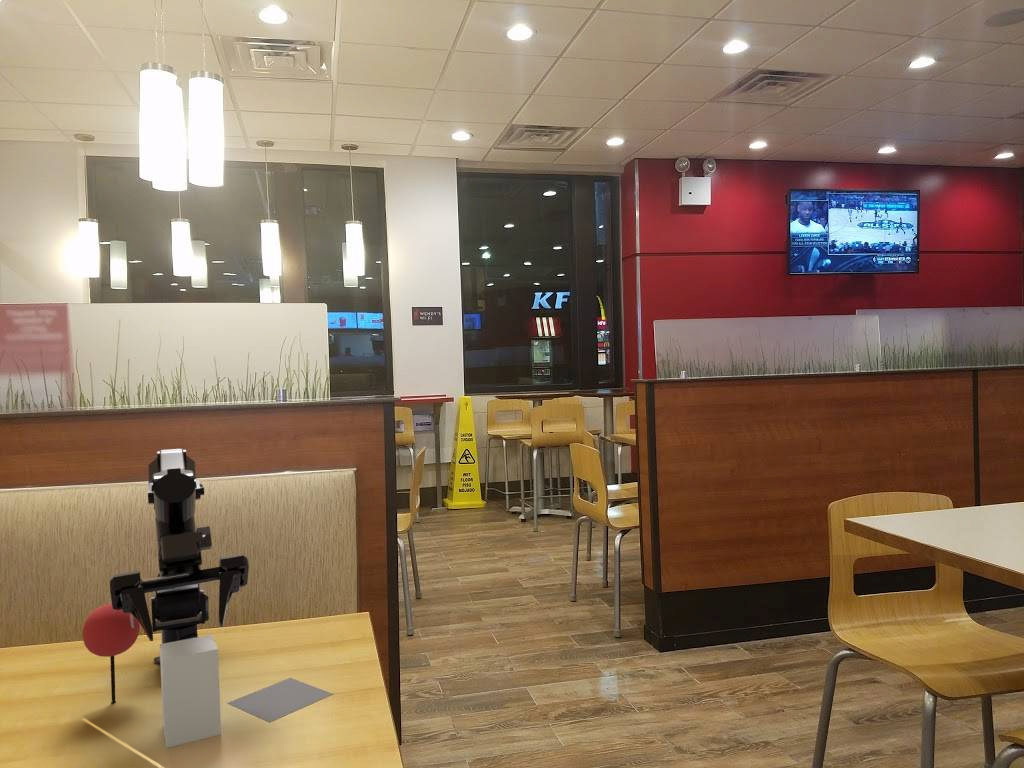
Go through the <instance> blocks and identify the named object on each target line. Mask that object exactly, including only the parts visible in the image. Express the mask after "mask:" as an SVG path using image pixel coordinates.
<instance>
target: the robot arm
mask: <svg viewBox="0 0 1024 768" xmlns="http://www.w3.org/2000/svg"><path fill="white" fill-rule="evenodd" d="M196 469H197V468H196V461H195V460H193V459H192V458H191V457H189V456H187V450H186V449H184V448H172V449H171V448H169V449H161V450H159V451H156V458H155V459H153V460H152V461H151V462H150V463H149V464H148V465H147V474H148V475H147V477H148V479H147V480H148V483H147V501H148V502H147V503H148V505H150V506H151V505H153V510H154V516H155V518H154V522H155V523H154V524H155V532H156V533H155V534H156V535H155V536H156V544H157V556H158V557H157V558H158V568H159V570H158V571H159V573H158V574H157V576H155V577H150V578H143V579H141V570H137V571H130V572H123V573H120V574H119V573H118V574H114V575H113V576H112V577H111V578H110V579H109V592H110V600H111V604H112V607H113V609H115V610H120V609H123V612H124V613H132V614H133V616H134V617H135V618H136V619H137V620H138V621H139V623H140V627H142V629H143V631H144V633H145V635H146V636H147V638H148V641H150V642H153V641H154V633H155V632H157V631H158V632H161V634H160V635H161V644H164V643H169V642H175V641H180V640H185V639H191V638H196V637H199V633H198V625H203V624H206V622H207V621H209V619H210V616H209V596H208V594H206V592H205V590H204V588H200V584H205V583H211V582H215V581H218V582H219V586H218V587H219V589H218V590H219V591H218V592H219V593H218V624H219V627H220V628H222V627H224V622H225V619H226V618H225V617H226V612H227V608H228V605H229V603H230V601H231V598H232V595H234V594H235V593H238V592H239V591H240V589H241V588H244V587H245V586H247V585H248V580H249V568H250V566H249V561H248V557H247V556H246V555H244V554H243V553H239V554H233V555H227V556H220V557H219V559H218V560H219V563H218V566H216V567H210V568H209V567H208V568H204V569H202V564H203V558H202V551H207V550H211V548H212V546H213V545H212V544H213V543H212V535H211V534H212V533H211V527H210V525H208V526H201V527H197V525H196V517H195V513H196V501H201V497H202V496H205V486H204V485H203V484H202V482H201V481H200V479H199V478H197V471H196ZM153 592H155V595H152V596H150V597H151V601H150V602H151V603H150V606H151V617H150V612H149V608H148V604H147V600H146V594H148V593H153ZM153 662H155V663H157V664H160V655H158V656H157V657H156V656H155V657H154V658H153Z"/></svg>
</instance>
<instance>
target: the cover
mask: <svg viewBox="0 0 1024 768" xmlns="http://www.w3.org/2000/svg"><path fill="white" fill-rule="evenodd" d="M159 656H160V684H161V685H160V686H161V690H160V691H161V711H162V715H161V716H162V730H163V736H164V742H165V743H164V745H165V749H168V748H172V747H176V746H180V745H185V744H189V743H192V742H195V741H200V740H204V739H207V738H213V737H216V736H220V735H222V723H221V722H222V721H221V697H220V696H221V695H220V672H219V648H218V646H217V644H216V641H215V638H214V636H213V634H208V635H203V636H198V637H196V638H191V639H185V640H180V641H175V642H169V643H164V644H162V643H160V644H159Z"/></svg>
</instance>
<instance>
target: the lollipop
mask: <svg viewBox="0 0 1024 768" xmlns="http://www.w3.org/2000/svg"><path fill="white" fill-rule="evenodd" d="M140 627H141V624H140V623H139V621H138V620H137V619H136V618H135V617H134V616H133V614H132V613H124V612H123V609H120V610H115V609H113V607H112V603H108V604H104V605H102V606H100V607H97V608H95V609H94V610H92V612H91V613H90V614H89V615H88V617H86V619H85V621H84V624H83V627H82V642H83V644H84V646H85V647H86V649H87V650H88V651H89V652H90V653H91V654H92V655H95V656H98V657H104V658H105V657H108V658H110V659H109V661H110V684H111V685H110V688H111V690H110V691H111V692H110V693H111V702H110V703H111V704H115V703H117V701H116V671H115V665H116V664H115V656H118V655H120V654H123V653H125V652H126V651H129V649H130V648H132V647H133V645H134V644H135V643H136V641H137V639H138V637H139V634H140Z"/></svg>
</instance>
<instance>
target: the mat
mask: <svg viewBox="0 0 1024 768" xmlns="http://www.w3.org/2000/svg"><path fill="white" fill-rule="evenodd" d="M332 695H334V693H333V692H330V691H326V690H324V689H321V688H319V687H316V686H314V685H311V684H309V683H305V682H304V681H300V680H297V679H296V678H292V677H288V678H285V679H284V680H280V681H278V682H276V683H273V684H271V685H268V686H266V687H263V688H261V689H258V690H256V691H253V692H251V693H248V694H246V695H244V696H242V697H239V698H236V699H234V700H231V701H228V702H227V704H228V705H230V706H232V707H235V708H237V709H239V710H241V711H243V712H246V713H247V714H250V715H252V716H254V717H256V718H258V719H261V720H263V721H265V722H268V723H272V722H275V721H277V720H279V719H280V718H284V717H286V716H288V715H290V714H292V713H295V712H297V711H299V710H301V709H303V708H305V707H308V706H310V705H313V704H314V703H317V702H319V701H321V700H323V699H326V698H329V697H330V696H332Z"/></svg>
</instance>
